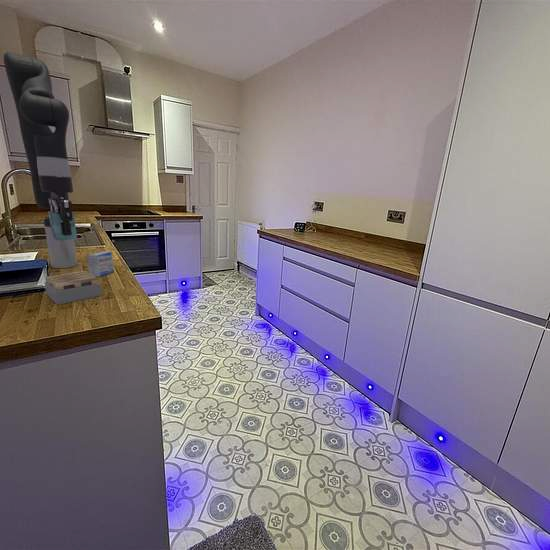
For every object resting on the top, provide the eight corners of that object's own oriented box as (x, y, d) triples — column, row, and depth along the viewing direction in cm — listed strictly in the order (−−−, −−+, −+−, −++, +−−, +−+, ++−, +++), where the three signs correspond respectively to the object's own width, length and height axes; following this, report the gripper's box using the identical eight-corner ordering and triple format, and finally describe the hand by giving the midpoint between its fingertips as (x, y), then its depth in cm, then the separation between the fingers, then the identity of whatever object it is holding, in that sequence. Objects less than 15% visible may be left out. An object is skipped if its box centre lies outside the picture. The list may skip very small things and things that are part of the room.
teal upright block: (52, 238, 87) (48, 211, 85) (72, 236, 91) (68, 211, 89) (57, 240, 84) (52, 212, 82) (77, 239, 88) (73, 212, 85)
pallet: (46, 282, 91) (45, 276, 90) (86, 276, 99) (85, 270, 98) (56, 291, 84) (55, 284, 83) (98, 283, 92) (97, 277, 92)
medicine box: (99, 277, 111) (96, 255, 109) (89, 276, 112) (86, 254, 110) (114, 272, 119) (112, 251, 116) (105, 271, 119) (102, 250, 117)
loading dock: (46, 294, 92) (44, 282, 91) (88, 286, 101) (87, 275, 100) (57, 304, 84) (55, 292, 83) (101, 295, 93) (100, 283, 92)
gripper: (32, 174, 84) (43, 232, 89) (45, 173, 75) (56, 238, 80) (63, 176, 90) (71, 230, 94) (78, 176, 81) (86, 236, 85)
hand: (64, 233), depth 87 cm, fingers closed on teal upright block, 5 cm apart
